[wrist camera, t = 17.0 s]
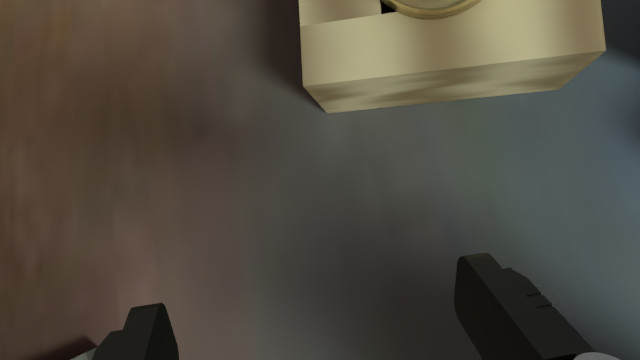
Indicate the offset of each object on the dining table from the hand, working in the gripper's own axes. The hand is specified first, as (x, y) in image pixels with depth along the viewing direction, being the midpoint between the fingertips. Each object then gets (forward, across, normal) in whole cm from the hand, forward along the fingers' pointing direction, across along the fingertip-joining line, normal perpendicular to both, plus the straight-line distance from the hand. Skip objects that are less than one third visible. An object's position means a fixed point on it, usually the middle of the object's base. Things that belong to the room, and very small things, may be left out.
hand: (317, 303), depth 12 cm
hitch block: (+19, -10, -5) cm, 22 cm away
